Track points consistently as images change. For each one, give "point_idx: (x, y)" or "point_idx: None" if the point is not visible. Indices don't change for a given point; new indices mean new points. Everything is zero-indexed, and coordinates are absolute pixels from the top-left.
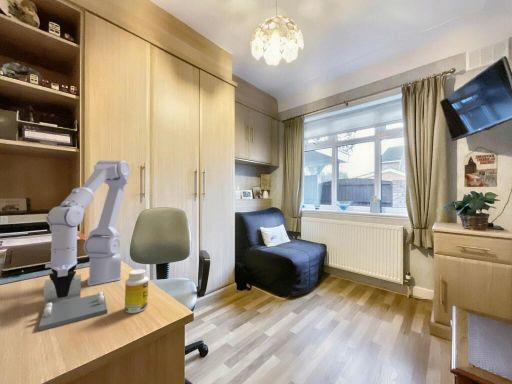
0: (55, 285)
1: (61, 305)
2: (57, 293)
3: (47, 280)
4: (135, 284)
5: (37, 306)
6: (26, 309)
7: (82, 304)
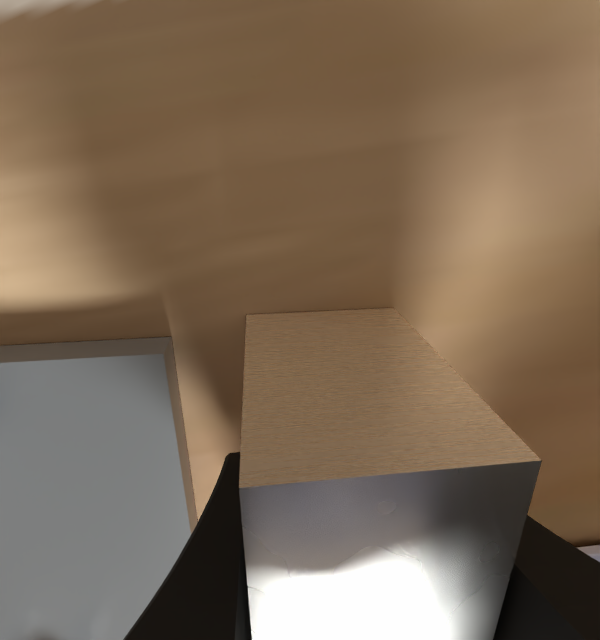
0: (145, 611)
1: (80, 475)
2: (212, 494)
3: (492, 490)
4: None
5: (288, 265)
6: (266, 179)
7: (24, 598)
